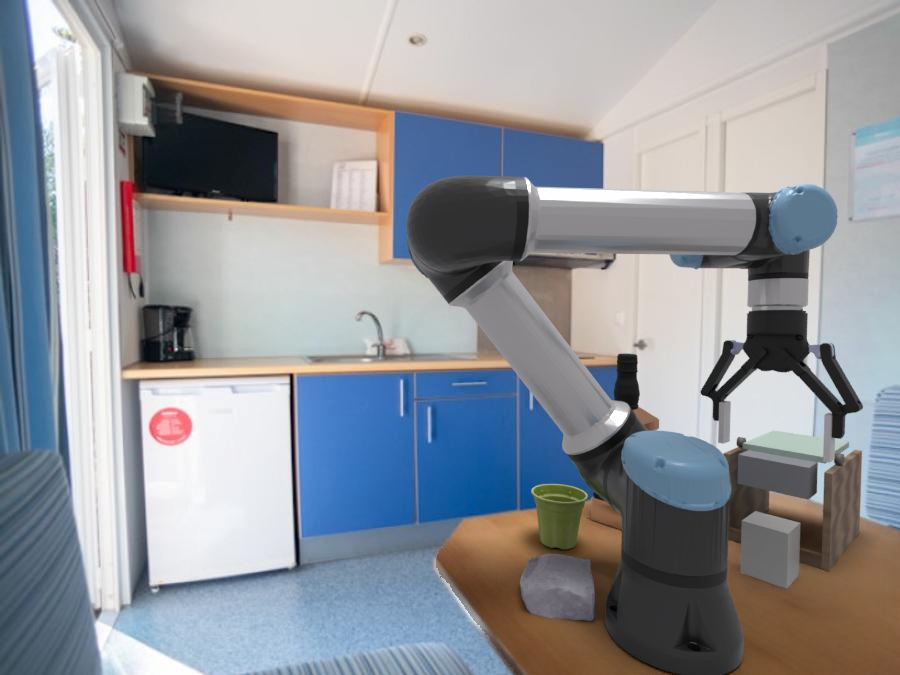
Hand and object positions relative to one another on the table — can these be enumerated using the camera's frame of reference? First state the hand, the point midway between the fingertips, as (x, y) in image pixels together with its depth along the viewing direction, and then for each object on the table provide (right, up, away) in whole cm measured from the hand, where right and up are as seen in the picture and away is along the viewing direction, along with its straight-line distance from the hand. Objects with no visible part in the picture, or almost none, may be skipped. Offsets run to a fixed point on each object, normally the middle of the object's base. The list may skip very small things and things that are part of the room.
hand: (772, 450), depth 73 cm
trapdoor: (+12, -8, +13) cm, 20 cm away
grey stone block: (0, -19, 0) cm, 19 cm away
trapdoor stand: (+13, -18, +14) cm, 27 cm away
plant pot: (-30, -18, +10) cm, 37 cm away
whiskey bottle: (-15, -18, +21) cm, 31 cm away
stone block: (-34, -19, -6) cm, 39 cm away
